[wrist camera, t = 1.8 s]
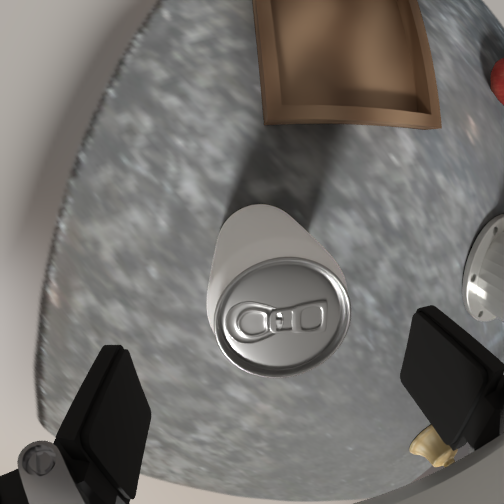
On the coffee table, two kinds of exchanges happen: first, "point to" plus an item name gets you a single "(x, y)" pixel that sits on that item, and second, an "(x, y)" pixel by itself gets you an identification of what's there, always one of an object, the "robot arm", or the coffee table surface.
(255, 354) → the can
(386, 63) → the tray
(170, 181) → the coffee table surface
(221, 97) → the coffee table surface
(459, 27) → the coffee table surface
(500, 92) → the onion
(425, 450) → the hand bell
